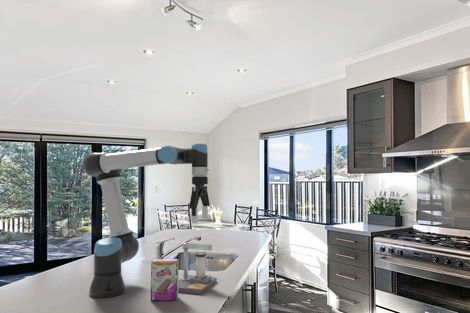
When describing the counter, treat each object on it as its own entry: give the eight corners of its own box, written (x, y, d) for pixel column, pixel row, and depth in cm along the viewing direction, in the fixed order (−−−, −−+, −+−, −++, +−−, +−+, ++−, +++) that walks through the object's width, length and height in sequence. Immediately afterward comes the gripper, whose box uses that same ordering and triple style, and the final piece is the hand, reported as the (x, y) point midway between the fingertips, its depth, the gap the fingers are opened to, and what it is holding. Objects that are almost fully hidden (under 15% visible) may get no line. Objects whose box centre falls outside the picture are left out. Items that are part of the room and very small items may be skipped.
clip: (210, 250, 167) (210, 245, 167) (181, 248, 171) (181, 243, 171) (212, 249, 170) (212, 244, 170) (184, 247, 174) (184, 242, 174)
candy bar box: (150, 301, 147) (150, 261, 148) (152, 297, 152) (153, 258, 153) (177, 301, 148) (177, 261, 149) (178, 297, 153) (178, 258, 154)
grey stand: (201, 294, 156) (201, 256, 157) (167, 291, 161) (168, 253, 162) (217, 281, 175) (217, 247, 176) (187, 278, 180) (187, 245, 181)
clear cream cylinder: (203, 283, 166) (203, 253, 166) (193, 282, 167) (193, 252, 168) (207, 280, 171) (207, 250, 171) (198, 279, 172) (198, 250, 173)
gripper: (197, 176, 155) (197, 225, 154) (215, 176, 179) (215, 218, 178) (181, 176, 157) (181, 224, 156) (201, 176, 181) (201, 218, 180)
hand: (199, 221), depth 167 cm, fingers open, 13 cm apart
